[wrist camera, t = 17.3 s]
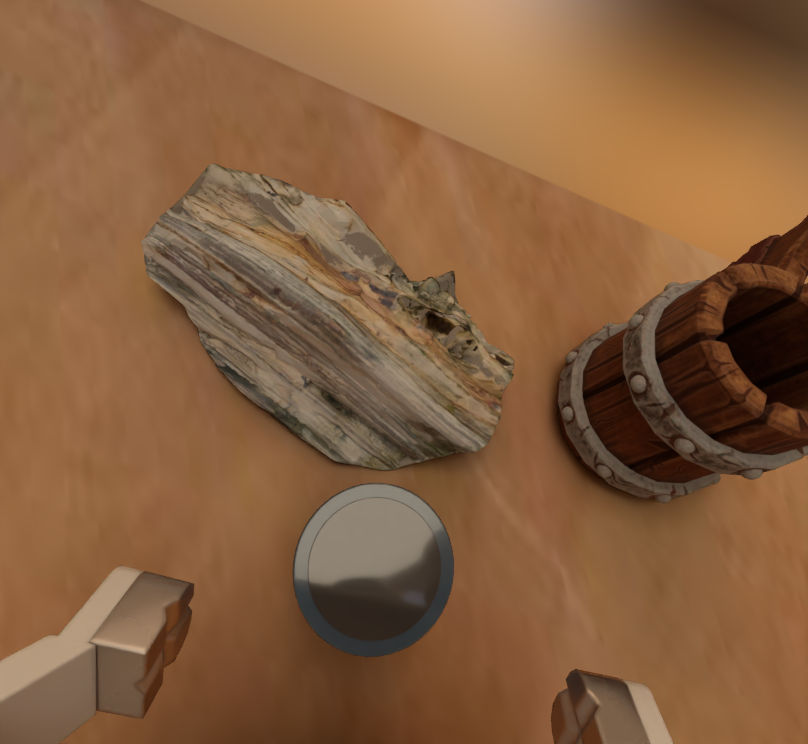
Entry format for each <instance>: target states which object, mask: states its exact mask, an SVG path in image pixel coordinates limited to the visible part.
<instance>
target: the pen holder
mask: <svg viewBox="0 0 808 744" xmlns="http://www.w3.org/2000/svg"><path fill="white" fill-rule="evenodd" d="M453 575H454V558H453V551H452V546H451V542H450V538H449V536H448V533H447V531H446V528H445V526H444V525H443V523H442V521H441V519H440V518H439V516H438V515H437V514H436V512H435V511H434V510H433V509H432V508H431V507H430V506H429V504H428V503H426V502H425V501H424V500H423V499H422V498H420V497H419V496H417V495H416V494H414V493H412V492H411V491H409V490H406V489H404V488H402V487H398V486H395V485H391V484H384V483H369V484H361V485H357V486H354V487H351V488H348V489H346V490H343V491H341V492H340V493H338V494H336V495H334V496H333V497H331V498H330V499H329V500H327V501H326V502H325V503H324V504H323V505H322V506H321V507H320V508H319V509H317V510H316V512H315V513H314V514H313V516H312V517H311V518H310V519H309V521H308V523H307V524H306V526H305V527H304V529H303V531H302V534H301V536H300V538H299V541H298V544H297V547H296V550H295V556H294V561H293V585H294V591H295V596H296V599H297V602H298V605H299V608H300V610H301V612H302V614H303V616H304V618H305V619H306V621H307V622H308V624H309V625H310V627H311V628H312V629H313V630H314V631H315V633H316V634H317V635H318V636H319V637H320V638H322V639H323V640H324V641H325V642H326V643H328V644H330V645H331V646H333V647H334V648H336V649H338V650H341V651H343V652H345V653H348V654H352V655H356V656H364V657H378V656H384V655H389V654H393V653H396V652H398V651H401V650H403V649H405V648H407V647H409V646H411V645H412V644H414V643H415V642H417V641H418V640H419V639H421V638H422V637H423V636H424V635H425V634H426V633H427V632H428V631H429V630H430V629H431V628H432V627H433V625H434V624H435V623H436V621H437V620H438V618H439V617H440V615H441V614H442V612H443V610H444V608H445V606H446V604H447V601H448V598H449V595H450V592H451V588H452V583H453Z"/></svg>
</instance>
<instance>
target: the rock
mask: <svg viewBox="0 0 808 744" xmlns="http://www.w3.org/2000/svg"><path fill="white" fill-rule="evenodd" d="M141 242H142V248H143V253H144V258H145V265H146V271H147V274H148V276H149V277H150V278H151V279H153V280H154V281H155V282H156V283H158V284H159V285H160V286H161V287H163V288H164V289H165V290H166V291H167V292H169V293H170V294H171V295H172V296H173V297H174V298H176V299H177V300H178V301H179V302H180V303H181V304H182V305H183V306H184V307H185V309H186V311H187V313H188V315H189V318H190V319H191V321H192V322H193V323H194V324H195V325H196V326H197V328H198V329H199V336H200V341H201V342H202V344H203V346H204V347H205V349H206V350H207V352H208V353H209V355H210V356H211V358H212V359H213V360H214V361H215V363H216V365H217V367H218V368H219V369H220V370H221V371H222V372H223V373H224V374H225V375H226V377H227V378H228V379H229V380H230V381H231V382H232V383H233V384H234V385H235V386H236V387H237V388H238V389H239V391H241V392H242V393H243V394H244V395H246V396H247V397H248V398H249V399H250V400H252V401H253V402H254V403H255V404H257V405H258V406H260V407H261V408H262V409H264V410H265V411H266V412H268V413H269V414H270V415H271V416H272V417H274V418H275V419H277V420H278V421H279V422H281V423H282V424H283V425H284V426H286V427H287V428H288V429H289V430H291V431H292V432H293V433H295V434H297V435H298V436H299V437H300V438H302V439H303V440H305V441H307V442H308V443H309V444H311V445H312V446H314V447H315V448H317V449H318V450H320V451H321V452H322V453H324V454H325V455H327V456H328V457H329V458H330V459H332V460H334V461H336V462H341V463H347V464H354V465H360V466H365V467H369V468H373V469H378V470H383V471H385V470H391V469H396V468H399V467H402V466H405V465H409V464H412V463H418V462H424V461H425V460H429V459H433V458H438V457H443V456H448V455H451V454H454V453H472V452H477V451H478V450H480V449H481V448H483V447H484V446H486V445H487V443H488V442H489V440H490V438H491V436H492V434H493V432H494V430H495V428H496V426H497V424H498V422H499V420H500V416H501V409H502V406H501V397H502V393H503V391H504V389H505V388H506V386H507V385H508V383H509V382H511V379H512V377H513V374H512V373H511V372H512V370H513V369H514V360H513V359H512V357H510V356H509V355H507V354H506V353H505V352H504V351H502V350H500V349H498V348H496V347H494V346H492V345H490V344H489V343H488V342H487V341H485V338H484V336H483V334H482V332H481V331H480V330H478V329H477V328H476V324H474V323H472V321H471V320H470V318H471V316H470V314H466V312H465V309H464V308H461V307H460V306H459V304H458V302H457V299H456V295H455V275H454V271H450V272H448V273H445V274H443V275H442V276H439V277H437V278H433V277H429V278H427V280H423V281H420V282H416V281H409V279H408V278H407V276H406V275H405V274H404V272H403V271H402V269H401V268H400V267H399V265H398V264H397V263H396V261H395V260H394V258H393V257H392V255H391V254H390V253H389V252H388V251H387V249H386V248H385V247H384V245H383V244H382V243H381V241H380V240H379V239H378V238H377V237H376V235H375V234H374V233H373V232H372V231H371V230H370V229H369V227H368V226H367V225H366V224H365V222H364V221H363V220H362V219H361V218H360V217H359V215H358V214H357V213H356V212H355V211H354V210H353V209H352V207H351V206H350V205H349V204H348V203H346V202H345V201H344V200H335V199H330V198H326V199H324V198H320V197H316V196H313V195H311V194H309V193H306V192H303V191H301V190H299V189H298V188H296V187H294V186H292V185H290V184H288V183H286V182H284V181H281V180H279V179H275V178H272V177H268V176H265V175H260V174H252V173H248V172H244V171H239V170H234V169H229V168H224V167H222V166H220V165H217V164H213V163H212V164H211V165H209V166H208V167H207V168H206V169H205V170H204V172H203V173H202V174H201V175H200V177H199V178H198V179H197V180H196V182H195V183H194V184H193V185H192V186H191V188H190V189H189V190H188V191H187V193H186V194H185V195H184V196H183V197H182V198H181V199H180V200H179V201H178V202H177V203H176V204H175V205H173V206H172V207H171V208H170V209H169V210H168V211H167V212H165V213H164V214H163V215H161V216H160V217H159V220H158V221H157V222H156V223H155V225H154V226H153V227H152V228H151V230H150V231H149V232H148V234H147V235H146V237H145V238H144V239H143V240H142V241H141Z"/></svg>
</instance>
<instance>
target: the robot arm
mask: <svg viewBox="0 0 808 744" xmlns="http://www.w3.org/2000/svg"><path fill="white" fill-rule="evenodd" d="M193 596H194V584H193V583H190V582H186V581H182V580H178V579H174V578H170V577H166V576H162V575H158V574H155V573H151V572H147V571H143V570H138V569H134V568H130V567H126V566H122V565H120V566H119V567H117V568H116V569H114V570H113V571H112V572H111V573H110V574H109V575H108V576H107V578H106V579H105V580H104V581H103V582H102V584H101V585H100V586H99V587H98V588H97V590H96V591H95V592H94V593H93V594H92V596H91V597H90V598H89V599H88V600H87V602H86V603H85V604H84V605H83V606H82V608H81V609H80V610H79V611H78V612H77V614H76V615H75V616H74V617H73V618H72V620H71V621H70V622H69V623H68V624H67V626H66V627H65V628H64V629H63V630H62V632H61V633H60V634H59V635H58V636H55V635H48V636H46V637H44V638H42V639H40V640H39V641H37V642H35V643H33V644H31V645H29V646H27V647H25V648H23V649H22V650H20V651H18V652H16V653H14V654H12V655H10V656H8V657H6V658H4V659H3V660H1V661H0V744H59V743H60V742H62V741H63V740H64V739H65V738H67V737H68V736H69V735H70V734H72V733H73V732H74V731H76V730H77V729H78V728H79V727H81V726H82V725H83V724H84V723H86V722H87V721H88V720H89V719H91V718H92V717H93V716H95V715H96V711H100V712H106V713H111V714H117V715H122V716H128V717H133V718H139V719H143V718H144V716H145V714H146V713H147V711H148V709H149V707H150V705H151V704H152V702H153V700H154V698H155V696H156V694H157V693H158V691H159V689H160V687H161V685H162V683H163V671H164V668H165V667H166V666H168V665H169V664H171V663H172V662H174V661H175V659H176V657H177V655H178V654H179V652H180V650H181V648H182V646H183V643H184V641H185V638H186V636H187V633H188V630H189V626H190V622H191V617H192V610H191V609H190V607H189V606H188V605H189V603H190V601H191V599H192V598H193ZM566 682H567V686H568V688H567V689H565V690H563V691H561V692H559V693H558V694H557V696H556V699H555V701H554V703H553V706H552V714H551V726H552V734H553V739H554V744H674V743H673V741H672V739H671V736H670V734H669V732H668V730H667V727H666V725H665V723H664V720H663V718H662V716H661V714H660V711H659V709H658V707H657V705H656V702H655V700H654V698H653V695H652V693H651V691H650V690H649V689H648V687H647V686H646V685H644V684H640V683H636V682H631V681H627V680H623V679H619V678H616V677H611V676H607V675H602V674H597V673H592V672H588V671H583V670H578V669H575V670H573V671H571V672H570V673H569V675H568V677H567V678H566Z"/></svg>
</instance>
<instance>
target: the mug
mask: <svg viewBox="0 0 808 744" xmlns="http://www.w3.org/2000/svg"><path fill="white" fill-rule="evenodd" d="M807 276H808V216H807V217H806V218H805V219H804V220H803V221H802V222H801V223H800V224H799V225H798V226H796V227H794V228H793V229H791V230H790V231H788V232H787V233H785V234H784V235H782V236H780V235H773V236H770V237H768V238H766V239H764V240H762V241H760V242H759V243H757V244H755V245H753V246H751V248H750V249H749V251H748V252H747V253H746V254H744V255H743V256H742V257H741V258H740V259H739V260H737V261H736V262H732V263H731V264H730V265H729V266H728V267H727V268H726V269H724V270H722V271H721V272H717V273H716V274H714V275H713V276H711V277H709V278H708V279H706V280H705V281H700V280H696V281H692V282H688V283H684V284H679V283H676V282H672V283H669V284H668V285H667V286H666V287H665V289H664V292H662V293H660V294H659V295H657V296H656V297H654V298H653V299H651V300H650V301H649V302H648V303H646V304H645V305H644V306H643V307H642V308H640V309H639V310H638V311H637V312H635V313H634V315H633V317H632V318H631V319H630V320H629V323H628V322H626V323H623V324H619V325H615V324H613V323H607V324H605V325H604V326H603V329H601V330H600V331H598V332H596V333H595V334H593V335H592V336H590V337H589V338H588V339H586V340H585V341H584V342H583V343H581V344H580V345H579V346H578V347H576V348H575V349H574V350H573V351H572V352H570V353H568V354H567V356H566V364H565V366H564V368H563V370H562V372H561V374H560V380H559V382H558V388H557V402H556V404H557V405H558V406H559V408H560V412H559V413H557V414H558V418H559V422H560V426H561V429H562V433H563V436H564V438H565V440H566V441H567V443H568V444H569V446H570V447H571V449H572V451H573V452H574V454H575V455H576V457H577V459H578V460H579V462H580V463H582V464H583V465H584V466H585V467H586V468H587V469H588V470H590V471H591V472H592V473H593V474H594V475H595V476H597V477H598V478H599V477H602V478H603V479H605V480H606V482H607V484H609V485H611V486H614V487H616V488H618V489H621V490H623V491H625V492H628V493H631V494H633V495H635V496H638V497H640V498H653V499H656V500H657V501H658V502H660V503H667V502H669V501H670V500H671V499H674V498H677V497H680V496H684V495H687V494H689V493H692V492H694V491H697V490H699V489H702V488H704V487H707V486H710V485H712V484H717V483H718V482H719V481H720V478H721V477H720V474H730V475H742V476H743V477H744V478H747V479H751V480H753V479H757V478H759V477H760V476H761V475H762V473H763V472H767V471H770V470H774V469H777V468H779V467H782V466H784V465H787V464H789V463H791V462H794V461H796V460H799V459H801V458H803V457H804V456H806V455H808V283H807V284H804V282H805V279H806V277H807Z"/></svg>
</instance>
